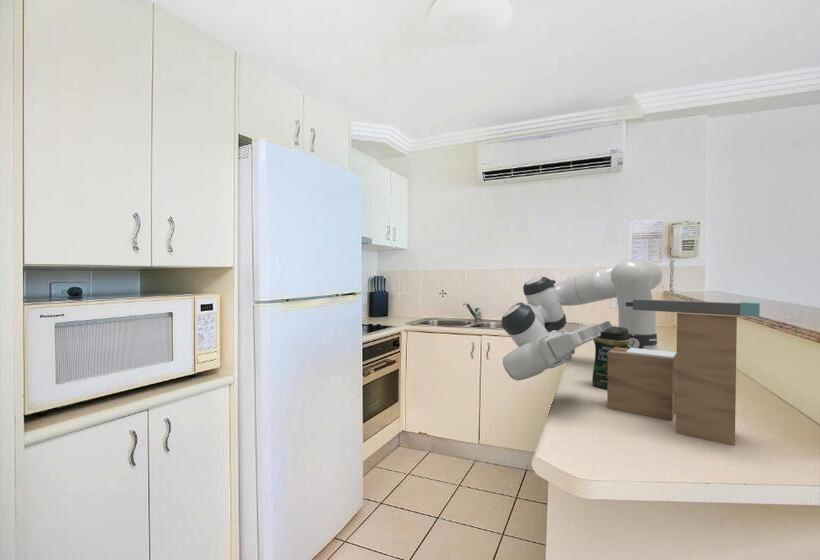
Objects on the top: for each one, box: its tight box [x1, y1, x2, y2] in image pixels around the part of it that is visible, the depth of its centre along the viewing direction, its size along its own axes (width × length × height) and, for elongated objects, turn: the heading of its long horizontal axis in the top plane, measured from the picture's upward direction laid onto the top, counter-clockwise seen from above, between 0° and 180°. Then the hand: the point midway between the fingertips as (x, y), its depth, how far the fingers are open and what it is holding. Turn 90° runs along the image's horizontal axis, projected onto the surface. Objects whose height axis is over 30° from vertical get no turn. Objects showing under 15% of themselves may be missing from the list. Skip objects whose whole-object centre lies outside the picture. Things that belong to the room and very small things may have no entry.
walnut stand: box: [606, 312, 738, 446], centre depth 95 cm, size 16×26×26 cm, turn 51°
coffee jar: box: [591, 325, 629, 390], centre depth 122 cm, size 10×8×19 cm
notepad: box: [626, 348, 677, 359], centre depth 100 cm, size 7×10×1 cm
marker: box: [626, 299, 761, 317], centre depth 89 cm, size 3×24×3 cm, turn 51°
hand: (605, 325), depth 99 cm, fingers open, 8 cm apart
